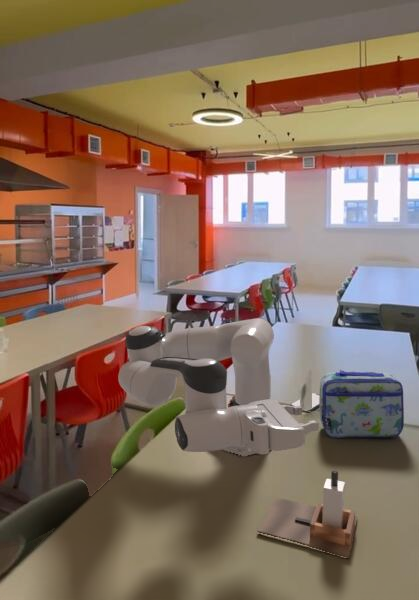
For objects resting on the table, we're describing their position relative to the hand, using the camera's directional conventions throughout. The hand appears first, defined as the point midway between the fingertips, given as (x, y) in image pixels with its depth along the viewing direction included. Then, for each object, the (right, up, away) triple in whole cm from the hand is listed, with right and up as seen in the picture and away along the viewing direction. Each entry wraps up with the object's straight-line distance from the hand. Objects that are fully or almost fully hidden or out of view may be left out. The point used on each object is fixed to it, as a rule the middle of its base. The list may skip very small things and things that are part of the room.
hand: (309, 417), depth 106 cm
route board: (0, -26, +2) cm, 26 cm away
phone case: (+16, -14, +74) cm, 77 cm away
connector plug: (+5, -25, 0) cm, 26 cm away
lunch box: (+27, -18, +49) cm, 59 cm away
